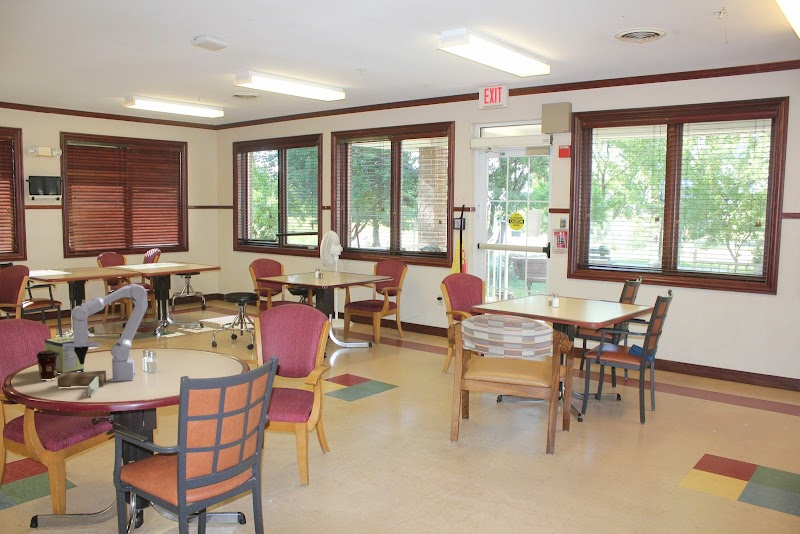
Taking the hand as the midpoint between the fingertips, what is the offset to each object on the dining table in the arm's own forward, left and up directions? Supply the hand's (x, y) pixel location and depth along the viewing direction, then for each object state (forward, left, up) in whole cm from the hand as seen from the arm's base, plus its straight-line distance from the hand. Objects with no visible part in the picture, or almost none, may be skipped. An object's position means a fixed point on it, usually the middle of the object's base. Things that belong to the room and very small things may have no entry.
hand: (82, 363), depth 297 cm
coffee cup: (+17, -13, -10) cm, 23 cm away
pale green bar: (-7, +14, -9) cm, 18 cm away
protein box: (+13, -28, -10) cm, 32 cm away
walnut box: (0, +1, -9) cm, 9 cm away
